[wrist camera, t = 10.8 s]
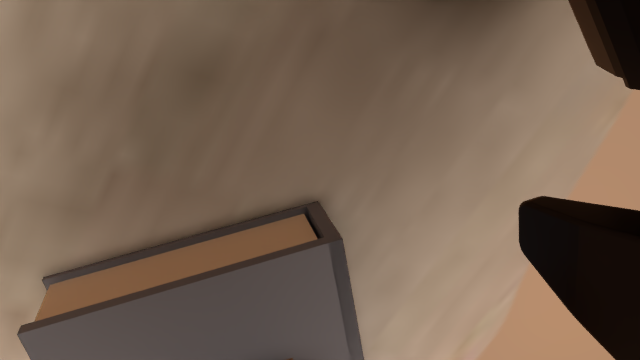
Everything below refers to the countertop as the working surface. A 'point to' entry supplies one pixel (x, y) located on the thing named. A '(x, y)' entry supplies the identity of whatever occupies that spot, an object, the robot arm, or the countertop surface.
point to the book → (208, 298)
